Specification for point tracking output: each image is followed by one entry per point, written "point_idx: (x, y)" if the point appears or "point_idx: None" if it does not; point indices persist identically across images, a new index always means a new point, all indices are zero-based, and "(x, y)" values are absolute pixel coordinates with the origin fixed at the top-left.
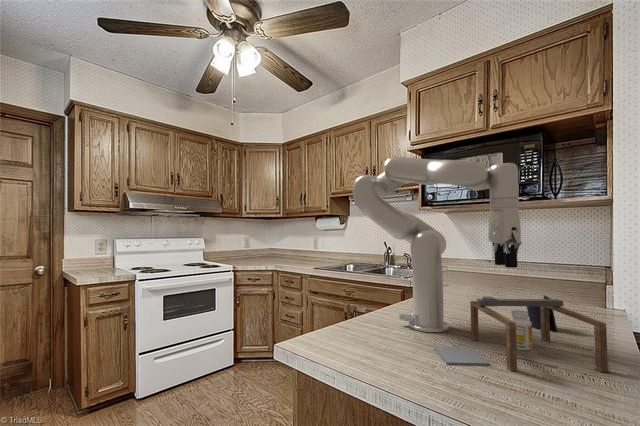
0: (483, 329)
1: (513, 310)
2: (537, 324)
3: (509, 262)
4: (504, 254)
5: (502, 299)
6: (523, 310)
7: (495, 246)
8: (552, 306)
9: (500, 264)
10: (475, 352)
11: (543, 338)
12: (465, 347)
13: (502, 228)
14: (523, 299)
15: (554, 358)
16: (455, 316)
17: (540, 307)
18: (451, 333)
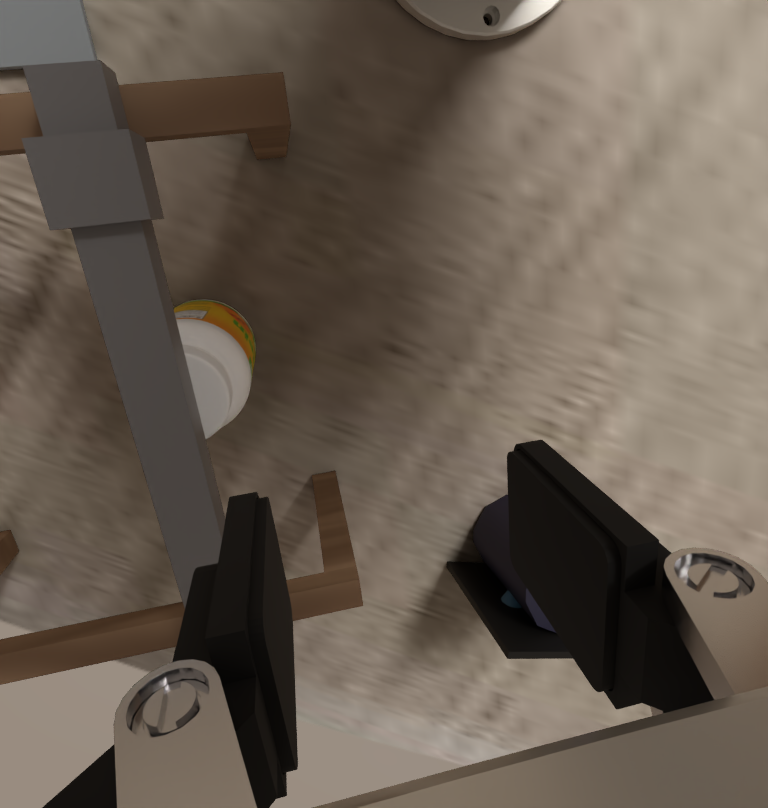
0: (457, 255)
1: (193, 369)
2: (489, 519)
3: (211, 573)
4: (583, 649)
5: (137, 303)
6: (209, 432)
7: (736, 639)
8: None
9: (509, 498)
10: (7, 53)
11: (320, 478)
12: (77, 16)
13: None
14: (185, 464)
15: (93, 432)
16: (688, 166)
17: (353, 557)
18: (362, 25)
